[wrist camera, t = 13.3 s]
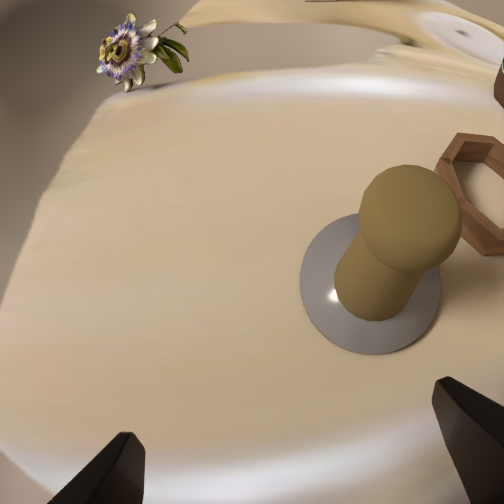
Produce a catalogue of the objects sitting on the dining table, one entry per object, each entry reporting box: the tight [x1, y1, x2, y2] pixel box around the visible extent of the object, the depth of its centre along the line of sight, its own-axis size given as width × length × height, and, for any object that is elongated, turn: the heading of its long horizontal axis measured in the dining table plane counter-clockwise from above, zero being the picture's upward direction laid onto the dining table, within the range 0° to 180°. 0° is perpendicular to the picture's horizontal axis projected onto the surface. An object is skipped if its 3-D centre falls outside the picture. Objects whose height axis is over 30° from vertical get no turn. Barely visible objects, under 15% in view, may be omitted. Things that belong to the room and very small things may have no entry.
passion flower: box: [96, 13, 189, 92], centre depth 36 cm, size 11×11×12 cm
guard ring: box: [434, 133, 504, 256], centre depth 23 cm, size 11×11×3 cm
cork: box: [334, 165, 463, 321], centre depth 17 cm, size 6×6×11 cm
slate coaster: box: [300, 214, 441, 355], centre depth 23 cm, size 11×11×1 cm
